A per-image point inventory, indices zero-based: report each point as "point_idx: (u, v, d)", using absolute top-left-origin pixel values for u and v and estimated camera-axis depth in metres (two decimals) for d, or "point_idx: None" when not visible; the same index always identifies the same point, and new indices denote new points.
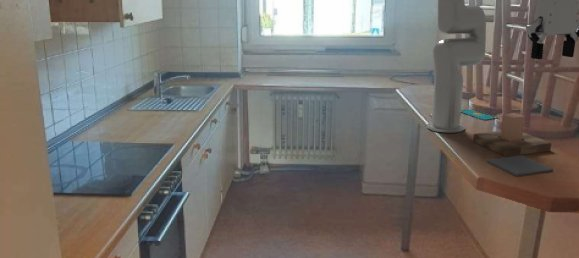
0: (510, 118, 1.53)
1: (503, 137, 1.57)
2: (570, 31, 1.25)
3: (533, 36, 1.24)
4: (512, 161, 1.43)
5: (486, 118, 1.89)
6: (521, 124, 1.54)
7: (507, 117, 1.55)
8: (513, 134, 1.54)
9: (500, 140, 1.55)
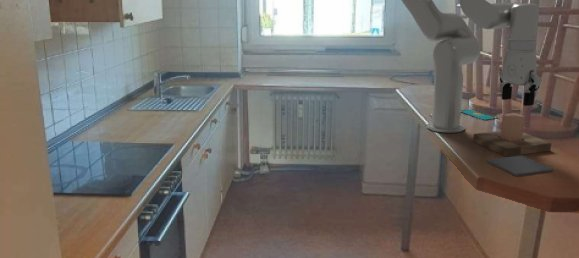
0: (510, 118, 1.53)
1: (503, 137, 1.57)
2: None
3: None
4: (512, 161, 1.43)
5: (486, 118, 1.89)
6: (521, 124, 1.54)
7: (507, 117, 1.55)
8: (513, 134, 1.54)
9: (500, 140, 1.55)
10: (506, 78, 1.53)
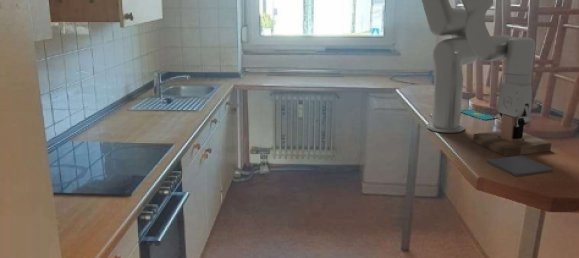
0: (510, 118, 1.53)
1: (503, 137, 1.57)
2: None
3: None
4: (512, 161, 1.43)
5: (486, 118, 1.89)
6: None
7: (507, 117, 1.55)
8: None
9: (500, 140, 1.55)
10: (502, 109, 1.56)
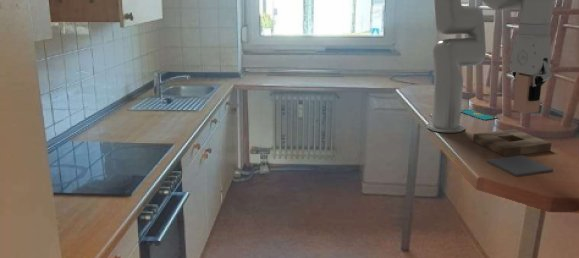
0: (526, 77, 1.32)
1: (517, 100, 1.36)
2: None
3: None
4: (512, 161, 1.43)
5: (486, 118, 1.89)
6: None
7: (522, 76, 1.33)
8: None
9: (500, 140, 1.55)
10: (516, 67, 1.34)
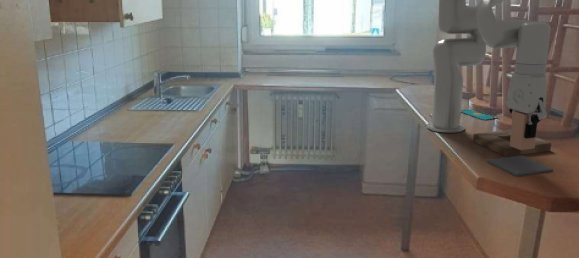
0: (522, 115, 1.34)
1: (514, 137, 1.38)
2: None
3: None
4: (512, 161, 1.43)
5: (486, 118, 1.89)
6: None
7: (518, 114, 1.36)
8: None
9: (500, 140, 1.55)
10: (512, 104, 1.37)
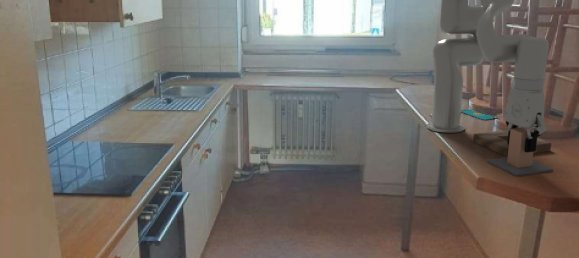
0: (519, 133, 1.36)
1: (511, 154, 1.40)
2: None
3: None
4: None
5: (486, 118, 1.89)
6: None
7: (516, 132, 1.37)
8: (523, 151, 1.37)
9: (500, 140, 1.55)
10: (510, 119, 1.38)
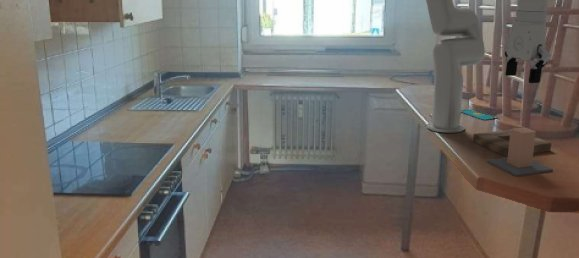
0: (519, 133, 1.36)
1: (511, 154, 1.40)
2: None
3: None
4: None
5: (486, 118, 1.89)
6: (532, 140, 1.37)
7: (516, 132, 1.37)
8: (523, 151, 1.37)
9: (500, 140, 1.55)
10: (512, 52, 1.40)
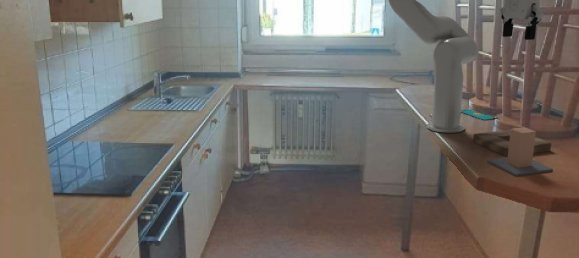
0: (519, 133, 1.36)
1: (511, 154, 1.40)
2: None
3: None
4: None
5: (486, 118, 1.89)
6: (532, 140, 1.37)
7: (516, 132, 1.37)
8: (523, 151, 1.37)
9: (500, 140, 1.55)
10: (508, 13, 1.52)
